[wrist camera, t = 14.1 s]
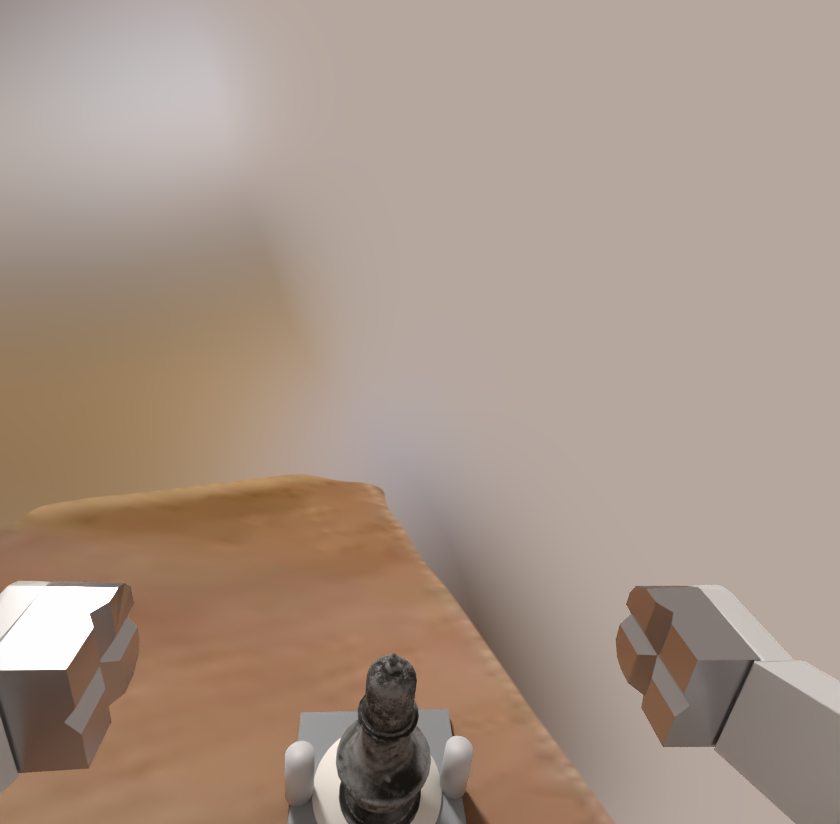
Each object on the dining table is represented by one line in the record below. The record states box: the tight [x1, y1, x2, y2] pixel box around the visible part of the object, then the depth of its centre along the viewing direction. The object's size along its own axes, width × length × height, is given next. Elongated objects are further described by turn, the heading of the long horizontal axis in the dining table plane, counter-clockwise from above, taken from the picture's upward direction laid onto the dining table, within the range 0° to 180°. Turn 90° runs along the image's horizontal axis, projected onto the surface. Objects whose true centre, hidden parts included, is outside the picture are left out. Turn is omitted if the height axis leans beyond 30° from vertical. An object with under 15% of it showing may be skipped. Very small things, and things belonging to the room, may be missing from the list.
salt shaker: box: [336, 654, 431, 824], centre depth 31 cm, size 6×6×12 cm
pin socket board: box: [285, 709, 473, 824], centre depth 33 cm, size 12×11×4 cm
